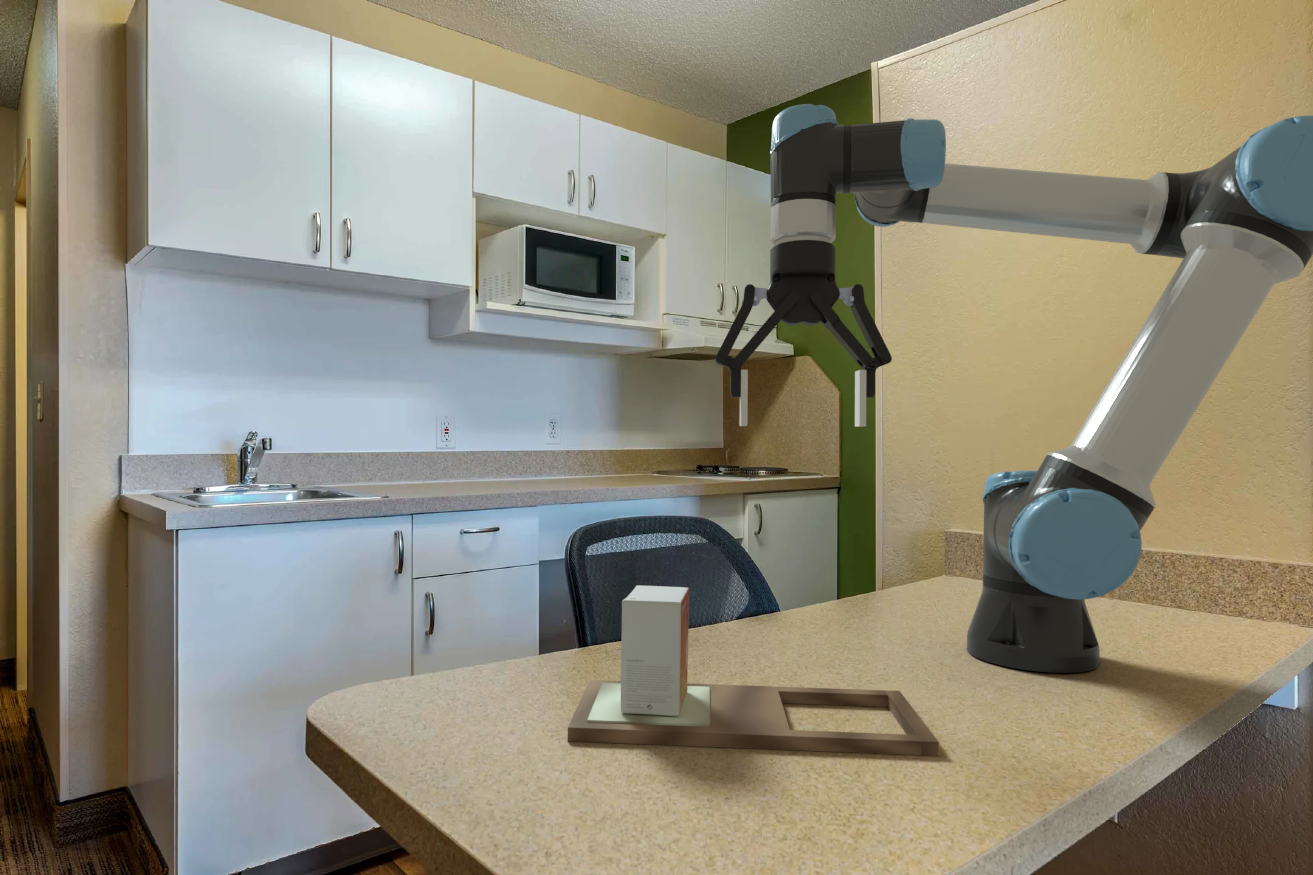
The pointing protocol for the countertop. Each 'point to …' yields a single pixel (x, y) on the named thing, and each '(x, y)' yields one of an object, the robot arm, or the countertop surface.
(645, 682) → the small box
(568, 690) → the countertop surface
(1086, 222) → the robot arm
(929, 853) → the countertop surface
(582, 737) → the board
